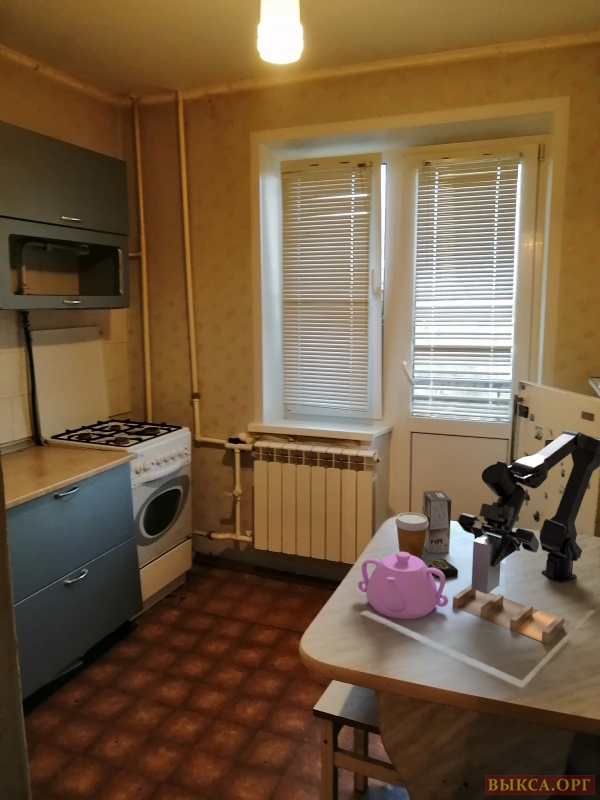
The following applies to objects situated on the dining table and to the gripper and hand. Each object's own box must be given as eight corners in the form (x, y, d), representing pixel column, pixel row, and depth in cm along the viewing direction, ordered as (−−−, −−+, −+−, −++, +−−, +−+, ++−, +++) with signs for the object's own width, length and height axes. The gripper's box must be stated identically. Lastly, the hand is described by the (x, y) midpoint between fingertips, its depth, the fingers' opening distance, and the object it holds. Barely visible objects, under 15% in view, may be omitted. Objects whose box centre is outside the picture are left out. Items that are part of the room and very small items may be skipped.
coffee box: (450, 552, 179) (452, 500, 176) (428, 553, 178) (430, 501, 175) (440, 540, 188) (442, 490, 185) (420, 540, 187) (421, 490, 184)
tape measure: (459, 580, 162) (459, 567, 161) (436, 584, 160) (436, 571, 159) (445, 569, 168) (445, 556, 168) (423, 573, 166) (423, 560, 165)
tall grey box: (483, 579, 148) (486, 533, 146) (499, 585, 145) (501, 537, 143) (471, 588, 144) (473, 540, 142) (486, 594, 141) (489, 545, 139)
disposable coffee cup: (432, 555, 177) (433, 515, 175) (420, 567, 169) (421, 526, 167) (401, 547, 182) (403, 509, 180) (388, 559, 174) (389, 519, 172)
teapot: (341, 625, 140) (342, 569, 138) (367, 583, 160) (367, 534, 157) (438, 645, 132) (441, 586, 130) (452, 599, 152) (454, 546, 149)
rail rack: (477, 591, 155) (478, 579, 155) (569, 625, 140) (570, 611, 139) (452, 610, 146) (453, 596, 146) (546, 648, 131) (548, 633, 130)
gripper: (462, 481, 150) (436, 536, 144) (536, 499, 137) (511, 560, 131) (477, 503, 157) (453, 557, 151) (549, 522, 144) (525, 582, 138)
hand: (483, 563), depth 143 cm, fingers closed on tall grey box, 4 cm apart
